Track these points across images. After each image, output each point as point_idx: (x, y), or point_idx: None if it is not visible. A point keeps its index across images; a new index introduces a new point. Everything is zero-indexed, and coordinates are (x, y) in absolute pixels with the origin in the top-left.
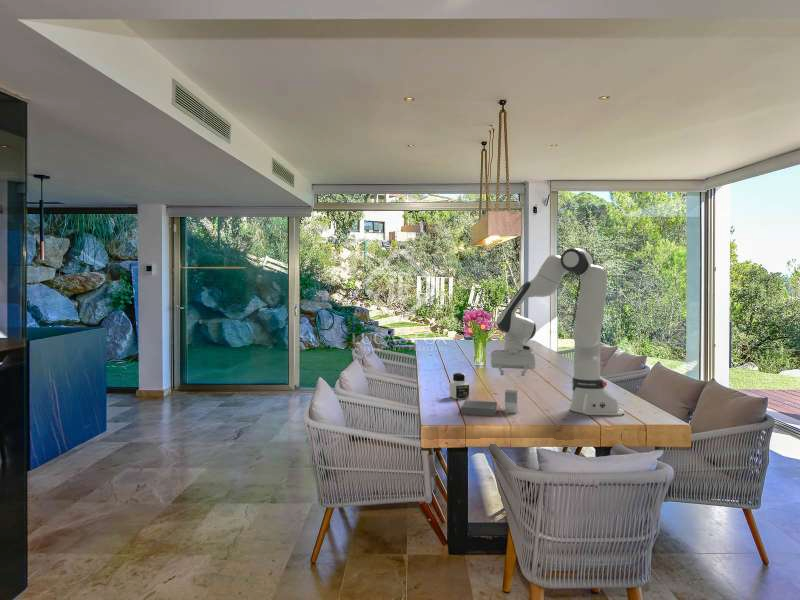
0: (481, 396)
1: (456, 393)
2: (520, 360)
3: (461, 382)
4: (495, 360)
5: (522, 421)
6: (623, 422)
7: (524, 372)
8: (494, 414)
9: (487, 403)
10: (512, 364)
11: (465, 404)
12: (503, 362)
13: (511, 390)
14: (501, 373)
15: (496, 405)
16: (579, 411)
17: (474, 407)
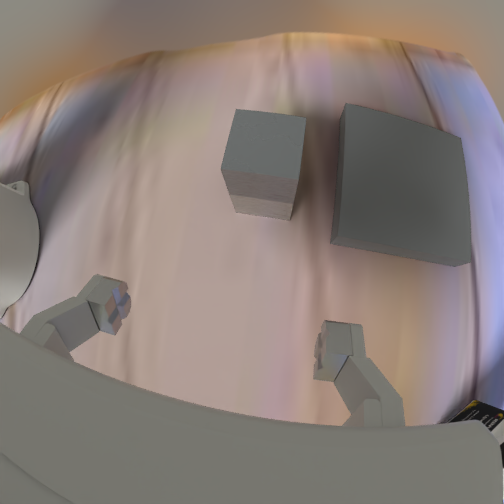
0: None
1: (488, 405)
2: (32, 415)
3: (498, 440)
4: (463, 468)
5: (243, 70)
6: (5, 134)
7: (88, 284)
8: (340, 124)
9: (382, 200)
10: (180, 400)
11: (459, 180)
12: (342, 447)
13: (261, 165)
14: (346, 324)
15: (336, 219)
16: (29, 204)
17: (420, 129)
